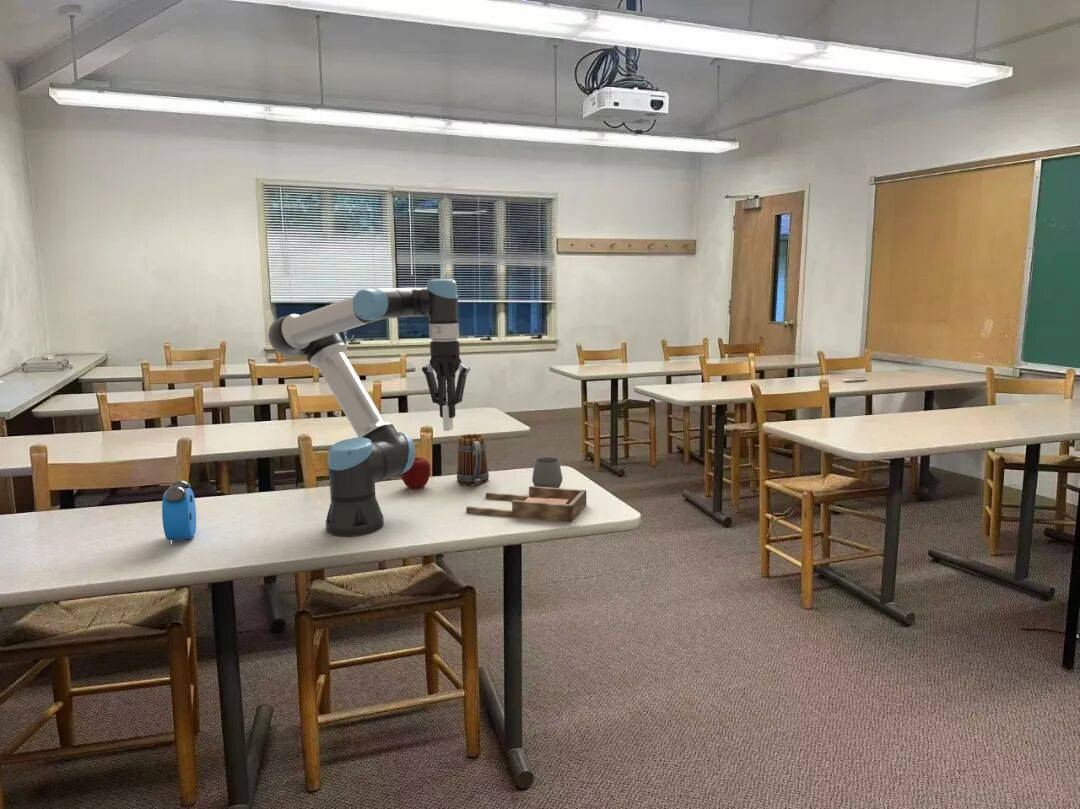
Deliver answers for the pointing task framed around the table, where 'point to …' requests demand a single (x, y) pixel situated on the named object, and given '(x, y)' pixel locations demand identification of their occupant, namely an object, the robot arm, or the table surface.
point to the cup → (547, 472)
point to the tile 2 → (557, 501)
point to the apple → (417, 474)
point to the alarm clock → (179, 511)
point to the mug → (472, 460)
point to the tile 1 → (536, 499)
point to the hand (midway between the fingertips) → (448, 429)
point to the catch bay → (538, 504)
